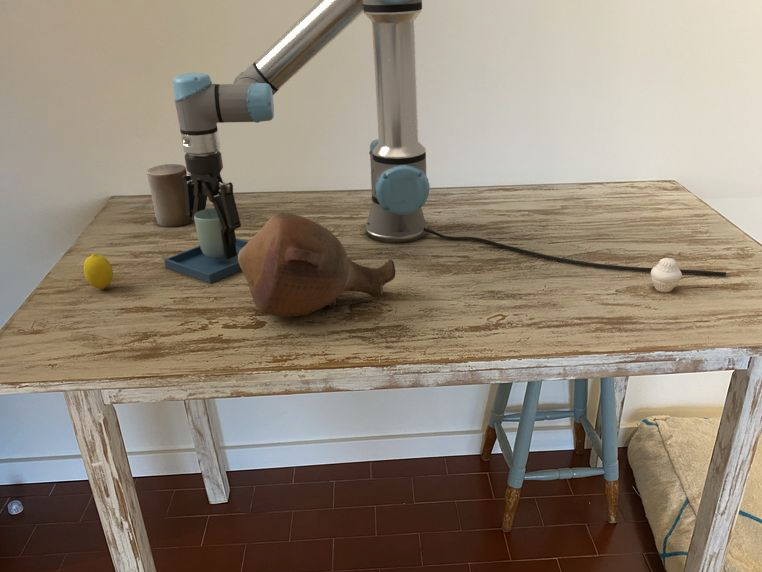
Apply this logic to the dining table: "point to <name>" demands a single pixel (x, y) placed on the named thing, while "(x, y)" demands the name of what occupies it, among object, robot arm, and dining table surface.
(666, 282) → the muffin
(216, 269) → the tray
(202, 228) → the cup
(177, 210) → the pillar candle
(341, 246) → the jug
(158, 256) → the dining table surface
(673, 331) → the dining table surface
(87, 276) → the lemon
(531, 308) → the dining table surface
